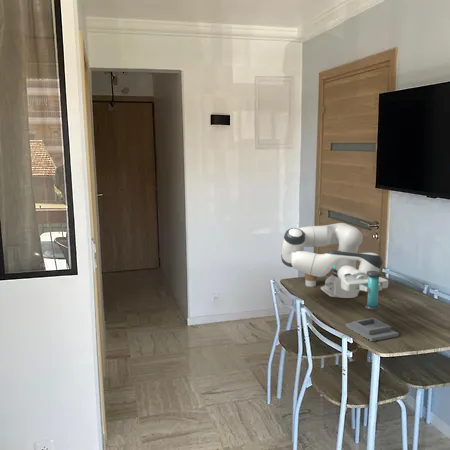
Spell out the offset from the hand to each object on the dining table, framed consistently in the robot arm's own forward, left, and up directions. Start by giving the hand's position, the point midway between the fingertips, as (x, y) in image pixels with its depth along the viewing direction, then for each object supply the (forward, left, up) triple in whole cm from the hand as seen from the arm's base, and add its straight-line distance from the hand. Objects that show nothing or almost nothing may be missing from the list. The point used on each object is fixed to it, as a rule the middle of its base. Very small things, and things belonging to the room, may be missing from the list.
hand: (374, 289), depth 203 cm
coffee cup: (-71, +12, -20) cm, 75 cm away
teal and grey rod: (-1, 0, -9) cm, 9 cm away
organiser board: (-1, 0, -20) cm, 20 cm away
